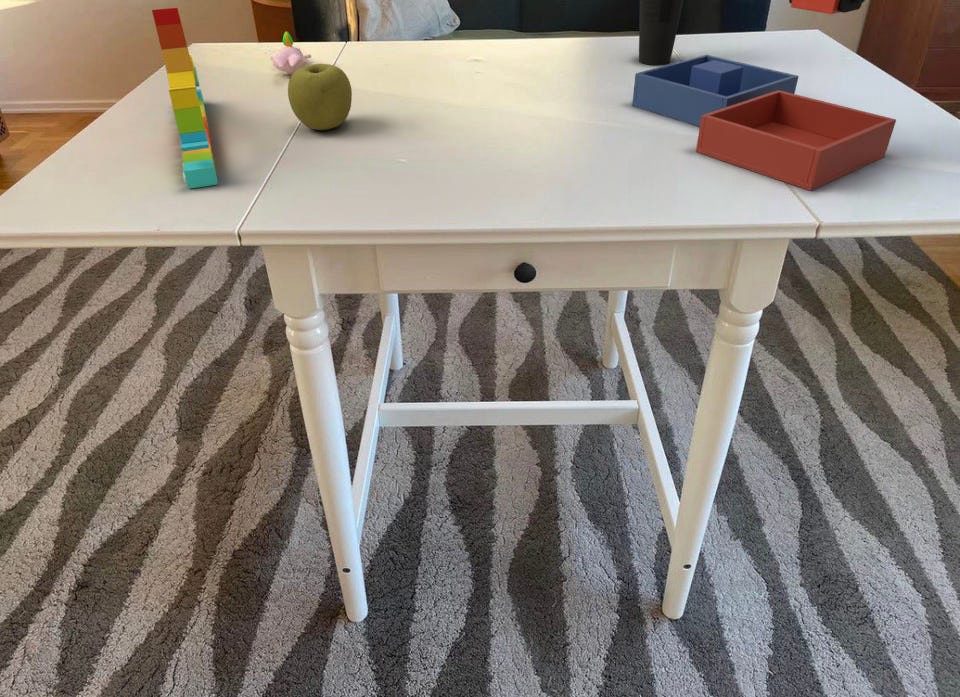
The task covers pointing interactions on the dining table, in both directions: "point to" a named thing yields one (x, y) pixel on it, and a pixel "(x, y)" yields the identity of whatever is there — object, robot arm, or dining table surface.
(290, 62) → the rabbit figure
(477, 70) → the dining table surface
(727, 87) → the blue block
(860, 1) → the robot arm
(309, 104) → the apple
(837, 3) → the red block
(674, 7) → the drinking cup
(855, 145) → the red bin
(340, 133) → the dining table surface
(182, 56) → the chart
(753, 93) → the blue bin
